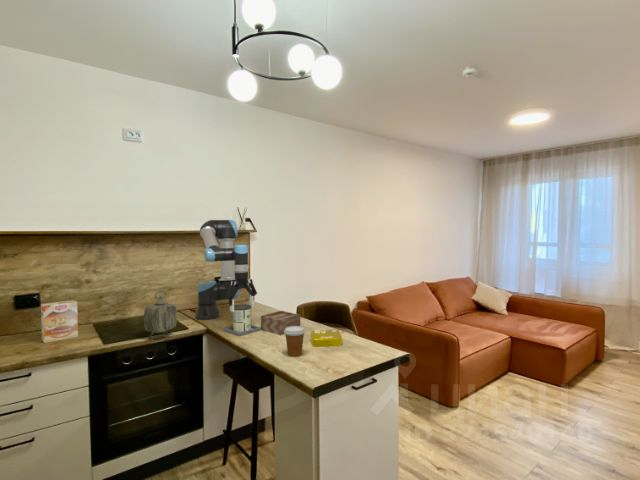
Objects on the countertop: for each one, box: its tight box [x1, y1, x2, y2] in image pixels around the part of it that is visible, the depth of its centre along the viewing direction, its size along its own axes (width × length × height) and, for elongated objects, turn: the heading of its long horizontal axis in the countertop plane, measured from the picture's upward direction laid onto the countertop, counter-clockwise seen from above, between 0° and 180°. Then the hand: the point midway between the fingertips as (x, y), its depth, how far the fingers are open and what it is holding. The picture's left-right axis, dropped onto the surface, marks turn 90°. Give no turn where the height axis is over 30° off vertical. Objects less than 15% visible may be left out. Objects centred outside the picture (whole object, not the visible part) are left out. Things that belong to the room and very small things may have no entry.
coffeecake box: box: [40, 299, 79, 344], centre depth 188 cm, size 15×7×20 cm, turn 137°
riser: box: [260, 310, 301, 336], centre depth 203 cm, size 16×16×8 cm
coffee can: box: [232, 304, 252, 333], centre depth 201 cm, size 10×10×14 cm
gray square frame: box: [222, 324, 262, 337], centre depth 201 cm, size 15×15×2 cm
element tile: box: [310, 329, 343, 348], centre depth 180 cm, size 15×15×5 cm
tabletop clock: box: [143, 290, 178, 340], centre depth 190 cm, size 14×9×25 cm, turn 152°
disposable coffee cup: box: [284, 325, 306, 357], centre depth 162 cm, size 10×10×12 cm
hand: (242, 309), depth 200 cm, fingers open, 13 cm apart
